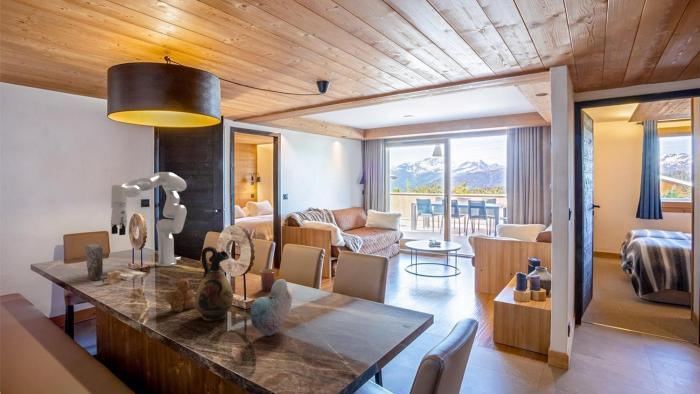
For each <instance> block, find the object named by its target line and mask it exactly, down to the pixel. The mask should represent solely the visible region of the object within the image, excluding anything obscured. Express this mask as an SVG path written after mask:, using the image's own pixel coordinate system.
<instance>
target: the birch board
mask: <svg viewBox="0 0 700 394" xmlns="http://www.w3.org/2000/svg"><path fill="white" fill-rule="evenodd" d="M114 271H118V272H120V280H124V281H130V280H135V279H140V278H144V277H147V273H146V272H144V271H140V270H136V269H132V268H123V269H116V270H112V271H110V272H114Z"/></svg>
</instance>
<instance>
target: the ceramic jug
mask: <svg viewBox="0 0 700 394" xmlns="http://www.w3.org/2000/svg"><path fill="white" fill-rule="evenodd" d="M209 252H211V254H212V255H211V256H209V258H208V259H207V253H209ZM200 257H201V264H202V266H203V270H204V273H203V276H202V280H201V282H200V284H199V286H198V288H197V290H196V293H195V298H194V302H195V305H196V307H195V308H196V310H197V311H198V312H199V314H201V318H202V319H203V320H204V321H209V322H215V321H221V320H224V319H225V318H226V315H227V313H228V311H229V310H230V309H231V307H232V306H233V302H234V291H233V287H232V284H231V282H230V281H229V279H228V277H226V275H225V273H224V272H223V271H222V268H221V267H220V264H221V263H222V262H224V261H227V260H228V259H230V256H229V254H228V253H227V252H226V251H225V250H222V251H220V250H219V251H218V250H217V249H216V247H213V246H210V245H209V246H206V247H204V248H203V249H202V250H201V253H200ZM208 262H209V263H211V264H210V267H209V263H208Z"/></svg>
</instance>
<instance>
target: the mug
mask: <svg viewBox="0 0 700 394" xmlns="http://www.w3.org/2000/svg"><path fill="white" fill-rule="evenodd" d="M276 273H277V269H275V268H266V269H265V268H264V269H261V270H259V274H260V278H261V280H260V288H261V290H262V291H263V292H271V289H272V286H273V284H274V283H275V281H276Z"/></svg>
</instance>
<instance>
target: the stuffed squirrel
mask: <svg viewBox="0 0 700 394" xmlns="http://www.w3.org/2000/svg"><path fill="white" fill-rule="evenodd" d="M173 283H174V284H175V285H176V287H177V289H176V288H175V289H173V290H171V291H168V292H167V293H166V294H165V296H164V298H165V302H166V303H167V304H169V305H170V309H171V311H172V312H174V313H181V312H183V311H184V310H190V309H194V308H196V305H195V301H194V299H193V295H194V292H195V291H194V289H190V286H193V284H192V283H191V282H190V281H189V280H188V279H186V278H181V279H179V280H178V281H177V280H175V281H173Z"/></svg>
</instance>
